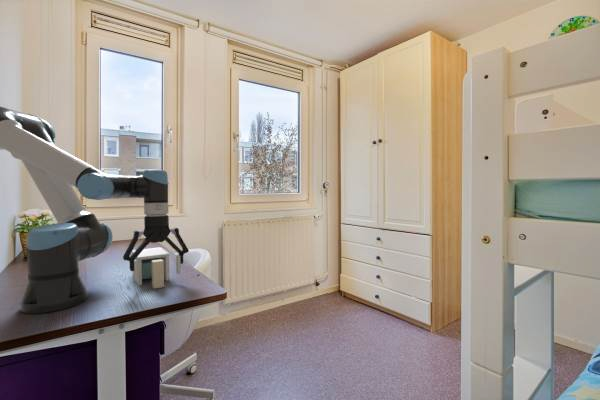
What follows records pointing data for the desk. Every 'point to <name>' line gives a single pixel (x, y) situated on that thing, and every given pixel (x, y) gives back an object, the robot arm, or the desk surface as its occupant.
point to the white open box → (152, 254)
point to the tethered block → (153, 271)
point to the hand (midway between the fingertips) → (157, 276)
